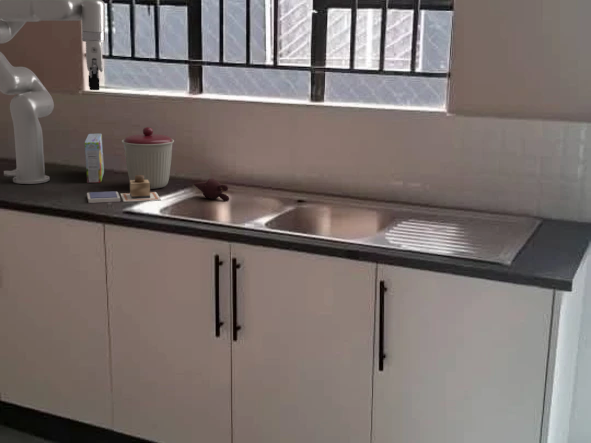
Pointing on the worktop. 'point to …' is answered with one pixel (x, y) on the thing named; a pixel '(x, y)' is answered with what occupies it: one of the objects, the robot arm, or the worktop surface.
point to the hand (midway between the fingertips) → (93, 88)
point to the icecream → (212, 189)
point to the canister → (149, 157)
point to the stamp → (139, 187)
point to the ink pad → (103, 197)
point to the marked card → (127, 198)
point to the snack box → (94, 158)
